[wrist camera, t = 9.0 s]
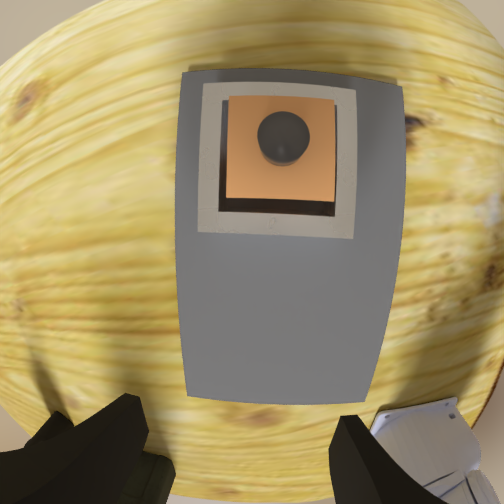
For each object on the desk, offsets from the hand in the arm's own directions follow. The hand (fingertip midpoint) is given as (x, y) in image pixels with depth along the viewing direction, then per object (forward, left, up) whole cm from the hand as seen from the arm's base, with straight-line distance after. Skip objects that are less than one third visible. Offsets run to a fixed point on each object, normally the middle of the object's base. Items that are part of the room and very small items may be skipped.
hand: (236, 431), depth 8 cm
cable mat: (-2, -4, -10) cm, 11 cm away
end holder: (-1, -10, -10) cm, 14 cm away
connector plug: (-1, -10, -9) cm, 13 cm away
